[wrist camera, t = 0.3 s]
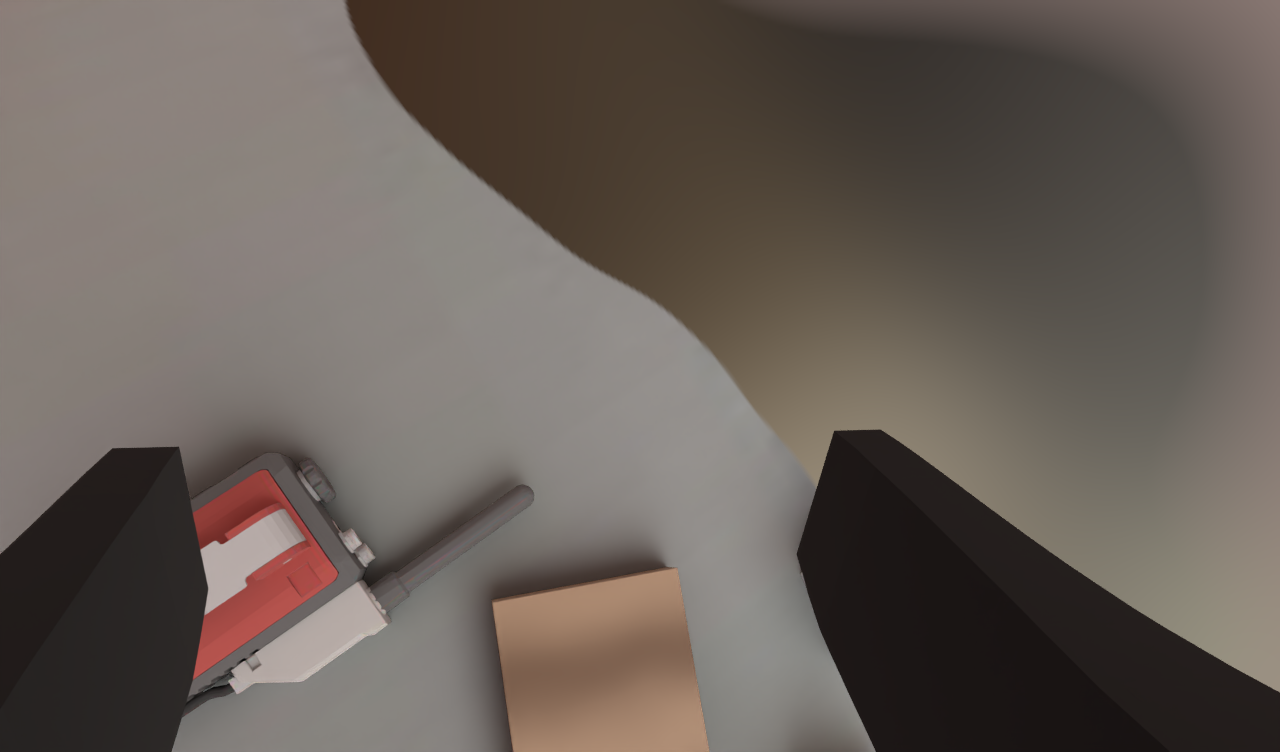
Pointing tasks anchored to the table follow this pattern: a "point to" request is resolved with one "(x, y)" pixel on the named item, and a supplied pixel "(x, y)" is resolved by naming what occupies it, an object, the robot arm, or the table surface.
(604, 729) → the tan flat block
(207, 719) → the table surface
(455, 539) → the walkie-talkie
